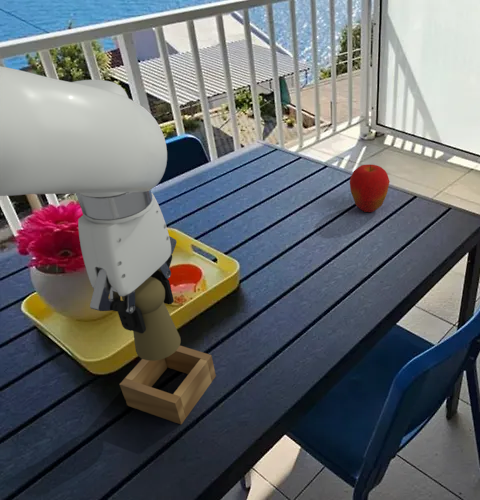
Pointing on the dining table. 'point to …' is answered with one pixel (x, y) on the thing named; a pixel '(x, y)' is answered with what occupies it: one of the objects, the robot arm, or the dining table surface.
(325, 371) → the dining table surface
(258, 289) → the dining table surface
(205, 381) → the frame
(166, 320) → the olive rounded figure
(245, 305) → the dining table surface
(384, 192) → the apple
